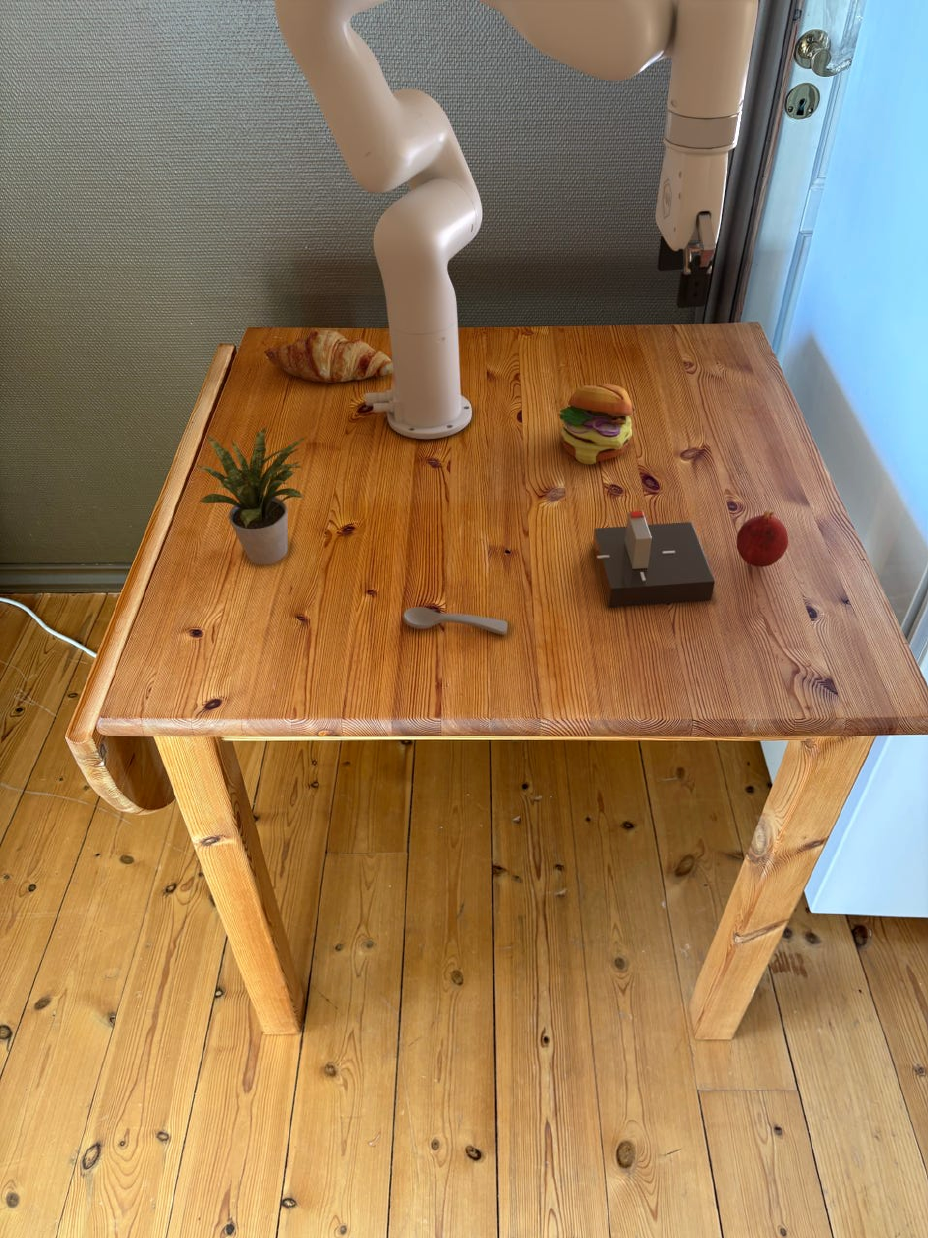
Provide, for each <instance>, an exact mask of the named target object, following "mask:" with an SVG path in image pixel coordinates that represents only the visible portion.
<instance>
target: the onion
mask: <svg viewBox="0 0 928 1238" xmlns="http://www.w3.org/2000/svg"><path fill="white" fill-rule="evenodd" d="M774 515H775V511H773V510H771V509H770V508H769V509H767V510H764V513H763V514H759V515H756V516H753V517H751V518H749V519H748V520H746V521H745V522H744V523H743V524H742V526H741V527H740V528H739V530H738V532H737V534H736V550H737V552H738V554H739V557H740V558H741V559H742V560H743V561H744V562H746V563H747V564H748V565H749V566H752V567H757V568H763V567H768V566H772V565H773V564H774V563H777V561H779V560H780V559H782V557H783V556H784V554H785V553H786V551H787V549H788V545H789V536H788V531H787V529H786V526H785V525H784V524H783V522H782V521H781V520H780V519H779V518H777V517H776V516H774Z"/></svg>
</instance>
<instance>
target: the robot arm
mask: <svg viewBox="0 0 928 1238" xmlns="http://www.w3.org/2000/svg"><path fill="white" fill-rule="evenodd" d="M389 1H390V0H273V3H274V11H275V17H276V21H277V24H278V28H279V30H280V33H281V35H282V38H283V40H284V42H285V45H286V46H287V49H288V50H289V53H290V54H291V55H292V57H293V59H294V60H295V62H296V63H297V66H298V67H299V69H300V71H301V73H302V75H303V76H304V79H305V80H306V82H307V83H308V85H309V87H310V89H311V92H312V93H313V95H314V97H315V99H316V102H317V103H318V104H317V105H318V107H319V109H320V111H321V113H322V116H323V118H324V120H325V122H326V124H327V126H328V128H329V130H330V132H331V135H332V137H333V139H334V141H335V143H336V145H337V147H338V149H339V151H340V153H341V156H342V158H343V160H344V162H345V164H346V167H347V168H348V170H349V172H350V174H351V176H352V177H353V179H354V181H355V182H356V183H357V185H358V186H359V187H360V188H362V190H364V191H366V192H368V193H371V194H378V195H379V194H385V193H388V192H391V191H393V190H394V189H396V188H398V187H400V186H401V185H403V184H404V183H406V184H407V187H408V188H409V192H407V193H406V194H405V195H404V196H401V198H399V199H397V200H396V201H394V202H393V203H392V204H391V205H389V207H388V208H387V209H386V210H385V211H384V212H383V213H382V214H381V216H380V217H379V219H378V221H377V223H376V225H375V228H374V232H373V240H372V241H373V250H374V255H375V259H376V263H377V266H378V269H379V272H380V277H381V280H382V286H383V290H384V297H385V304H386V312H387V315H386V316H387V322H388V332H389V343H390V353H391V361H392V363H393V372H392V374H393V382H392V388H391V389H386V391H384V392H377V391H375V392H365V393H364V395H365V396H364V401H365V407H373V413H374V414H380V413H386V419H387V423H388V425H389V427H390V428H391V429H392V430H393V431H395V432H396V433H398V434H399V435H402V436H403V437H407V438H411V439H417V440H437V439H441V438H446V437H449V436H453V435H454V434H457V433H458V432H461V431H462V430H463V429H464V428H466V427H467V426H468V425H469V423H470V422H471V420H472V417H473V409H472V405H471V403H470V401H469V400H468V399H467V398H466V397H465V396H463V395H462V394H461V391H462V390H461V368H460V367H461V366H460V347H459V346H460V345H459V344H460V343H459V322H458V307H457V306H458V305H457V296H456V292H455V288H454V285H453V283H452V281H451V278H450V275H449V272H448V264H449V261H451V259H452V258H453V257H455V256H456V254H458V253H459V252H460V251H461V250H462V249H464V248H465V247H466V246H467V245H468V244H470V242H472V240H473V239H474V238H475V237H476V236H477V234H478V233H479V231H480V228H481V226H482V223H483V205H482V201H481V196H480V193H479V191H478V188H477V185H476V182H475V180H474V178H473V176H472V173H471V171H470V168H469V165H468V163H467V161H466V158H465V155H464V153H463V150H462V148H461V146H460V143H459V141H458V139H457V136H456V133H455V132H454V129H453V126H452V124H451V122H450V120H449V118H448V115H447V114H446V113H445V111H444V109H443V108H442V107H441V106H440V104H439V103H438V102H437V101H436V100H435V99H434V98H433V97H432V96H431V95H429V94H428V93H427V92H425V91H423V90H421V89H416V88H410V87H409V88H401V89H398V90H394V91H393V92H392V90H391V88H390V87H389V84H388V83H387V80H386V78H385V76H384V73H383V70H382V69H381V65H380V63H379V61H378V59H377V57H376V55H375V53H374V52H373V51H372V49H371V48H370V46H369V45H368V44H367V43H366V42H365V40H364V39H363V38H362V37H361V36H360V35H359V34H358V33H357V32H356V31H355V30H354V29H353V27H352V26H351V23H350V22H351V19H352V18H353V16H355V15H357V14H360V13H362V12H365V11H368V10H370V9H373V8H374V7H377V6H380V5H382V4H384V3H387V2H389ZM476 1H477V2H479V3H482V4H484V5H486V6H488V7H490V8H492V9H494V10H495V11H498V13H500V14H501V15H503V18H504V19H505V21H507V23H508V24H509V25H510V26H511V28H513V30H515V31H516V32H517V33H518V34H519V35H520V36H521V37H522V38H523V40H525V41H526V42H527V43H528V44H529V45H531V46H532V47H533V48H535V49H536V50H538V51H539V52H540V53H542V54H544V55H546V56H547V57H549V58H551V59H553V60H555V61H557V62H559V63H561V64H563V65H566V66H568V67H570V68H572V69H574V70H577V71H579V72H581V73H583V74H585V75H587V76H590V77H592V78H596V79H599V80H602V81H608V82H621V81H627V80H629V79H632V78H634V77H635V76H637V75H638V74H640V73H641V72H643V71H644V70H645V69H646V68H648V67H649V66H651V64H654V63H657V62H659V61H661V60H664V59H666V58H670V59H671V65H670V76H669V84H668V85H669V86H668V93H667V100H666V101H667V103H666V112H665V119H664V129H663V140H662V143H663V145H664V146H665V151H664V156H663V157H664V158H663V162H662V167H661V172H660V173H661V174H660V179H659V185H658V186H659V187H658V192H657V200H656V205H655V215H654V217H655V223H656V226H657V227H658V230H659V231H660V233H661V236H660V240H659V248H658V256H657V257H658V258H657V266H656V268H657V269H658V271H659V272H666V271H667V272H669V271H680V272H679V279H678V286H677V293H676V302H675V305H676V307H677V308H678V309H687V308H688V309H690V308H703V307H704V306H706V304H707V296H708V291H709V285H710V277H711V273H712V268H713V267H712V265H713V264H714V255H715V253H716V246H717V242H718V239H719V234H720V229H721V223H722V215H723V209H724V199H725V190H726V183H727V181H726V180H727V174H728V170H727V169H728V157H729V151H731V150H733V149H734V148H735V147H736V146H737V143H738V137H739V131H740V125H741V120H742V119H741V118H742V113H743V105H744V100H745V94H746V87H747V82H748V81H747V80H748V74H749V68H750V62H751V56H752V55H751V54H752V49H753V43H754V38H755V37H754V36H755V30H756V24H757V19H758V13H759V0H476ZM690 241H698V242H690ZM693 252H698V254H696V255H694V257H693V259H692V253H693Z"/></svg>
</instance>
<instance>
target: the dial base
mask: <svg viewBox="0 0 928 1238" xmlns="http://www.w3.org/2000/svg"><path fill="white" fill-rule="evenodd" d="M647 525H648V528H649V531H650V534H651V537H652V540H651V547H650V555H649V562H648V568H639V569H633V568H632V565H631V562H630V558H629V555H628V551H627V548H626V545H625V534H626V526H616V527H615V526H614V527H601V528H598V527H597V528H594V531H593V543H592V549H593V553H594V557H595V560H596V564H597V568H598V571H599V576H600V579H601V583H602V588H603V590H604V595H605V599H606V602H607V606H608V608H609V609H610V608H626V607H639V606H652V605H666V604H679V603H680V604H681V603H695V602H709V601H712V598H713V593H714V588H715V584H716V580H715V578H714V575H713V573H712V570H711V567H710V565H709V563H708V560H707V557H706V554H705V552H704V549H703V547H702V545H701V543H700V539H699V537H698V534H697V531H696V529H695V527H694V524H693V522H692V521H685V522H684V521H683V522H671V523H670V522H669V523H656V524H647Z"/></svg>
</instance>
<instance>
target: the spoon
mask: <svg viewBox="0 0 928 1238" xmlns="http://www.w3.org/2000/svg"><path fill="white" fill-rule="evenodd" d="M402 617H403V621H404V622H405V624H406V625H408V626H409V627H411V628H414V629H417V630H426V629H430V628H432V627H434V626H436V625H437V624H442V623H453V624H461V625H466V626H471V627H475V628H478V629H483V630H486V631H488V632H492V633H494V634H498V635H501V636H505V635H507V632H508V622H507V621H506V620H504V619H499V618H493V617H491V618H490V617H484V616H478V615H471V614H461V613H440V612H436V611H434V610H432V609H430V608H428V607H425V606H414V607H410V608H408V609H406V610H405V612H404V613H403V615H402Z"/></svg>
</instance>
